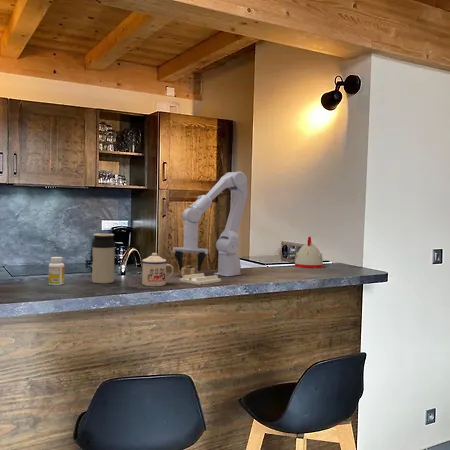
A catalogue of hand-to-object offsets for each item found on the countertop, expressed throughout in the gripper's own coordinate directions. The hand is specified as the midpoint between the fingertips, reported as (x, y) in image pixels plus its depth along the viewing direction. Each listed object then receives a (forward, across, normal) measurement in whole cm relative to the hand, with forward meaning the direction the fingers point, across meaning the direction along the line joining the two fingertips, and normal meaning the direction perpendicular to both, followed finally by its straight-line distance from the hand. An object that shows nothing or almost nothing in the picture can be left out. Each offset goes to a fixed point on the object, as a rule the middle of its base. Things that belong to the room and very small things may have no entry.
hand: (190, 270), depth 202 cm
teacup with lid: (+3, -7, -22) cm, 23 cm away
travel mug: (+3, -27, -23) cm, 36 cm away
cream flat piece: (+3, +7, -10) cm, 12 cm away
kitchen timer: (+2, +47, +54) cm, 72 cm away
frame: (+3, 0, 0) cm, 3 cm away
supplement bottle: (+3, -41, -33) cm, 53 cm away
